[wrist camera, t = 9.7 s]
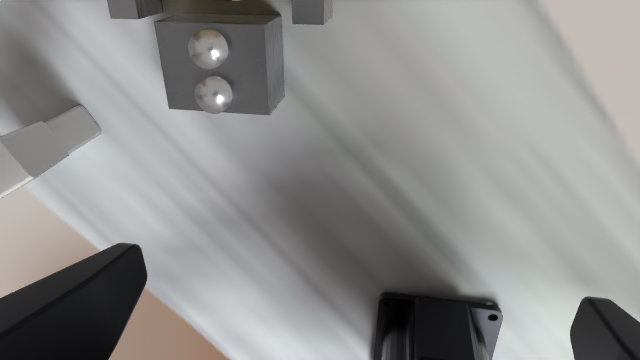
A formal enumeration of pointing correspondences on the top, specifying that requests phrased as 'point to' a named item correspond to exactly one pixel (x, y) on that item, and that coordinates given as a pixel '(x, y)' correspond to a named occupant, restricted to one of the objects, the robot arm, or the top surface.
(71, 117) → the grey angular piece
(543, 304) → the top surface
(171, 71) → the studded rectangular link
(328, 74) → the top surface
